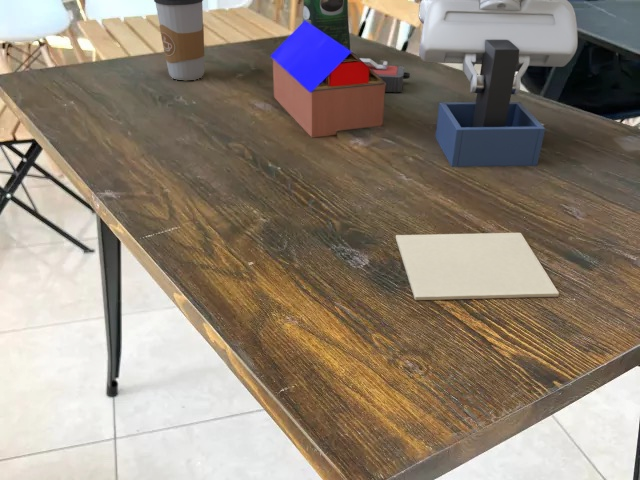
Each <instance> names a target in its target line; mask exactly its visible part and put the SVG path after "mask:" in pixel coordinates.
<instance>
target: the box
mask: <svg viewBox="0 0 640 480" xmlns="http://www.w3.org/2000/svg"><path fill="white" fill-rule="evenodd" d="M475 104H476V101H471V102H470V101H468V102H467V101H465V102H463V101H462V102H455V101H453V102H450V101H449V102H439V105H438V111H437V112H438V113H437V114H438V115H437V121H436V130H435V139H436V141H437V143H438V145H439V147H440V148H441V150H442V152H443V155H444V156H445V158H446V159H447V161H448V163H449V165H450V167H451V168H461V167H463V168H464V167H465V168H466V167H467V168H469V167H470V168H471V167H472V168H473V167H475V168H476V167H529V166H530V167H531V166H532V167H533V166H535V167H536V166H538V163H539V159H540V155H541V150H542V146H543V141H544V137H545V132H546V128H545V126H544V125H543V124H541V122H540V121H539V120H538V119H537V118H536V117H535V115H533V114H532V113H531V112H530V111H529V109H527V107H526V106H524V104H523V103H522V102H521V101H510V103H509V109H508V114H507V120H506V125H505V127H472V123H473V117H474V110H475Z"/></svg>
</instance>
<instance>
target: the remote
mask: <svg viewBox="0 0 640 480" xmlns="http://www.w3.org/2000/svg"><path fill="white" fill-rule="evenodd" d="M518 55H519V49H518V48H517V47H516V46H515V45H514V44H513V43H512V42H510V41H509V40H485V53H483V58H482V64H480V65H481V66H480V72H479V75H484V89H483V91H482V93H476V97H475V98H476V99H475V102H476V104H475V110H474V117H473V123H472V127H505V125H506V120H507V114H508V109H509V103H510V102H511V97H512V94H511V93H512V87H513V82H514V76H516V72H515V71H516V66H517V60H518Z"/></svg>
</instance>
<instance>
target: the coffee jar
mask: <svg viewBox="0 0 640 480" xmlns="http://www.w3.org/2000/svg"><path fill="white" fill-rule="evenodd" d="M302 7H303V8H302V9H303V10H302V23H303V22H304V21H307V22H308V23H309V24H311V25H312V26H314V27H315V28H317V29H318V30H320V31H321V32H323V33H324V34H326V35H327V36H329V37H330V38H332V39H333V40H335V41H336V42H338V43H339V44H341V45H342V46H344V47H345V48H347V49H348V50H350V51H351V37H350V25H349V24H350V23H349V8H348V7H349V0H303V6H302Z"/></svg>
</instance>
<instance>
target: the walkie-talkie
mask: <svg viewBox="0 0 640 480" xmlns="http://www.w3.org/2000/svg"><path fill="white" fill-rule="evenodd" d="M358 58H359V57H358ZM359 59H360V60H361V61H363V62H364V63H365V64H366V65H367V66H368V67H369V68H370V69H371V70H373V71H374V72H375V73H376V74H377V75H378V76H379V77H380V78H381V79H383V80H384V81H385V82H386V85H385V93H401V92H402V91H403V82H404V80H407V79H410V78H411V73H409V72H407V71H406V72H405V66H401V65H388V61H387V60H386V61H383V63H382V64H378V63H377V62H375V61H374V60H372V59H371V58H364V57H360V58H359Z"/></svg>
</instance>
